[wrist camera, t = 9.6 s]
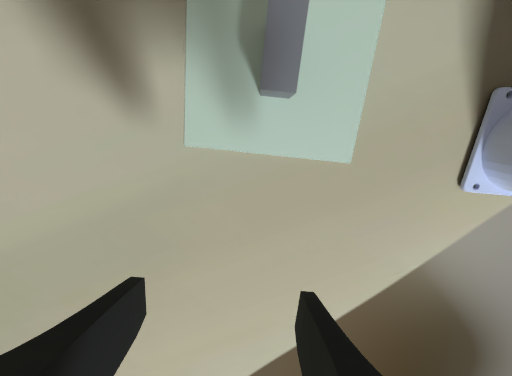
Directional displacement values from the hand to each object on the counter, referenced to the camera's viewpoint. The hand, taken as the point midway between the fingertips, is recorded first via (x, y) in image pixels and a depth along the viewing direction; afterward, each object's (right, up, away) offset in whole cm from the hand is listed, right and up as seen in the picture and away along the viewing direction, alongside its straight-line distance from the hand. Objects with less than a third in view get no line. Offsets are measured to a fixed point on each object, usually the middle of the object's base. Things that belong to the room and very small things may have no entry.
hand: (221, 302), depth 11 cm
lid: (+3, +15, +7) cm, 17 cm away
